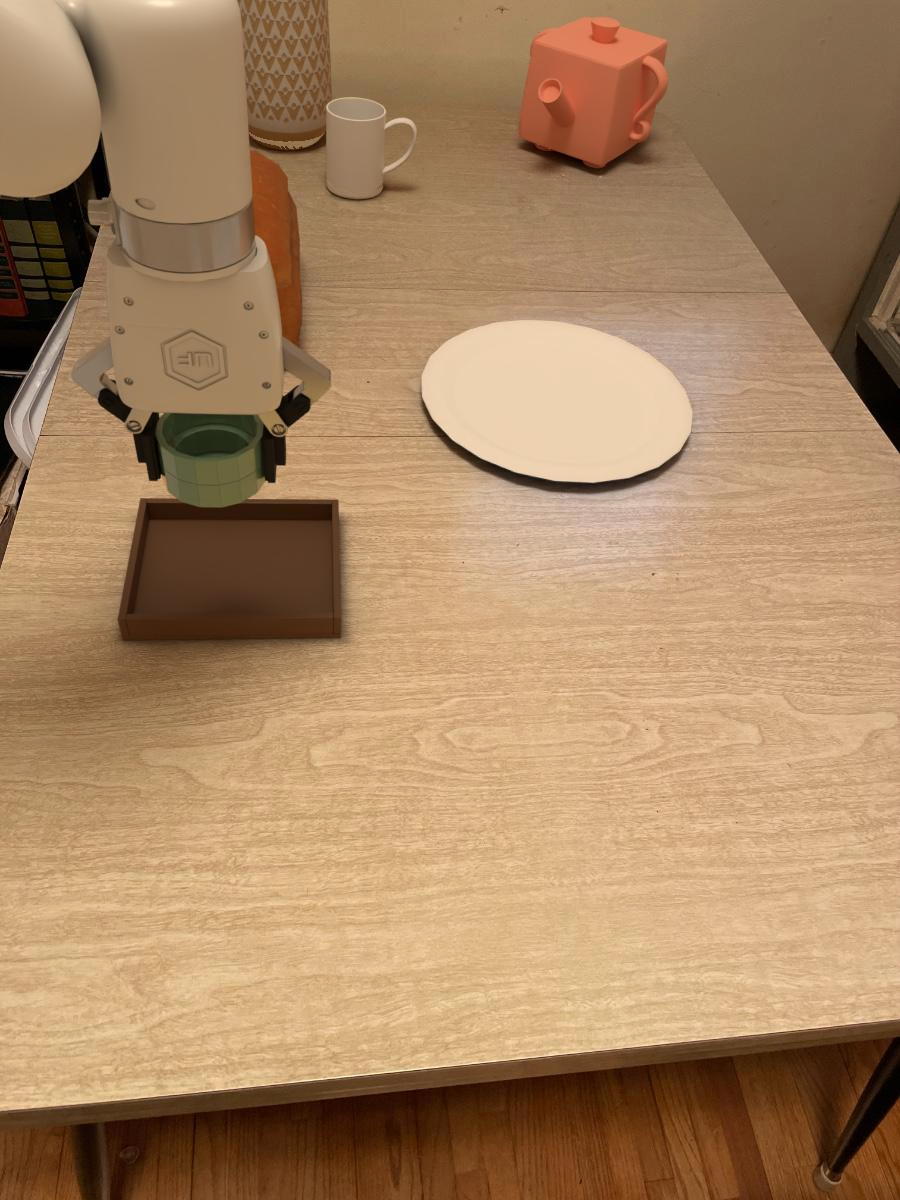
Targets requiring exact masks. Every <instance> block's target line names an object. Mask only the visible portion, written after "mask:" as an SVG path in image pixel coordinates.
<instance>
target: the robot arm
mask: <svg viewBox="0 0 900 1200" xmlns="http://www.w3.org/2000/svg"><path fill="white" fill-rule="evenodd" d="M100 137H102V143H103V148H104V155H105V160H106V165H107V172H108V178H109V185H110V189H111V191H110V193H109V195H108V197H102V198H101V199H88V201H87V217H88V221H89V224H90V225H91V226H102V227H104V229H111V232H112V234H113V235H115V238H114V239H113V241H112V243H111V245H110V246H109V248H108V250H107V253H106V268H105V269H106V270H105V278H106V279H105V282H106V283H105V286H106V290H105V291H106V302H107V303H106V305H107V318H108V319H107V320H108V329H109V330H108V331H109V336H108V337H106V338H105V339H104V340H102V341H101V342H100V343H98V344H97V345H96V346H94V347H93V348H91V350H89V351H88V352H86V353H85V354H84V355H83V356H81V357H80V358H79V359H77V360H76V361H75V362H74V364H73V368H72V370H71V374H70V377H71V380H72V381H73V382H74V383H75V384H77V385H78V386H79V387H80V388H82V389H83V391H85V392H86V393H87V394H88V395H90V396H91V397H94V398H95V399H97V403H98V404H99V406H100V407H102V408H103V409H104V410H105V411H107V412H108V413H109V414H111V415H113V416H114V417H115V418H117V419H118V420H120V421H121V422H122V423H124V428H125V430H126V431H127V432H128V433H129V434H132V436H133V442H134V449H135V453H136V459H137V463H139V464H145V465H146V472H147V478H148V481H149V482H158V480H161V479H162V474H161V468H160V462H159V457H158V451H157V445H156V439H155V429H156V425H157V421H158V419H159V418H160V417H161V416H160V414H161V413H162V414H164V413H187V414H230V415H256V414H257V415H258V416H259V418H260V419H261V421H262V422H263V423H264V424H263V436H262V444H263V459H264V474H265V482H267V483H268V484H276V480H277V466H279V467H281V466H282V467H283V466H284V467H285V466H287V441H286V440H287V438H286V435H287V434H288V431H289V428H290V427H291V426H293V425H294V424H295V423H296V422H298V421H299V420H300V419H302V418H303V417H304V416H305V415H307V414H308V413H309V412H310V411H311V407H312V406H313V405H314V404H315V403H317V402H318V401H319V400H320V399H321V398H322V397H323V396H324V395H325V394H326V393H327V392H328V391H329V390H330V389H331V387H332V371H331V370H330V369H329V368H328V367H327V366H325V365H324V364H322V363H321V362H320V361H318V360H317V359H315V358H314V357H313V356H311V355H310V354H308V353H307V352H306V351H304V349H302V348H300V347H298V346H296V345H294V344H293V343H292V342H290V341H289V340H287V339H286V338H285V337H283V335H282V325H281V317H280V309H279V302H278V295H277V290H276V284H275V279H274V274H273V270H272V266H271V262H270V258H269V254H268V251H267V248H266V245H265V243H264V241H263V240H262V239H261V238H260V237H258V236H256V235H255V225H254V209H253V194H252V180H251V163H250V150H251V149H250V135H249V130H248V114H247V97H246V80H245V64H244V47H243V31H242V22H241V13H240V8H239V5H238V2H237V0H0V196H6V197H11V198H12V197H13V198H36V197H42V196H46V195H50V194H54V193H56V192H59V191H61V190H63V189H65V188H67V187H68V186H70V185H71V184H72V183H74V182H75V181H76V180H77V179H79V178H80V177H81V175H82V174H83V173H84V172H85V171H86V169H87V168H88V167H89V166H90V164H91V163H92V160H93V158H94V156H95V153H96V152H97V149H98V146H99V143H100ZM112 368H113V372H114V379H112V378H109V375H107V374H106V372H108V371H109V370H111V369H112ZM285 371H287V372H288V373H290V374H291V375H293V376H294V377H296V378H297V379H298V380H300V381H301V383H300V384H298V385H296V386H294V387H293V388H292V389H291V390H289V391H288V392H287V393H286V394H284V383H285V381H284V378H285V374H284V373H285Z"/></svg>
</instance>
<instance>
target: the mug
mask: <svg viewBox="0 0 900 1200" xmlns="http://www.w3.org/2000/svg"><path fill="white" fill-rule="evenodd" d="M397 125H406V126H408V127H409V128H410V130H411V133H412V137H411V138H412V139H411V143H410V145H409V148H408V149H407V151H406V152H405V153H404V155H402V156H401V157H400V158H399V159H398V160H396V161H394V162H393V163H391V164H389V165H387V166H385V147H386V131H388V130H389V129H390V128H392V127H394V126H397ZM417 129H418V128H417V126H416V124H415V122H413V121H412V119H409V118H407V117H397V118H394V119H391V120H390V121H388V122H387V110H386V108H385V106H384V105H382V104H381V103H379V102H377V101H375V100H372V99H369V98H364V97H355V96H353V97H352V96H351V97H350V96H349V97H348V96H347V97H340V98H335V99H332V101H331V102H329V103H328V104H327V106H326V131H325V139H326V140H325V141H326V143H325V145H326V146H325V149H326V150H325V151H326V152H325V153H326V155H325V156H326V158H325V159H326V161H325V162H326V163H325V164H326V165H325V166H326V167H325V170H326V173H325V174H326V176H325V177H326V178H327V180H328V181H329V182H330V183H331V184H332V185H334V186H336V187H338V188H341V189H344V190H348V191H353V192H367V191H371V190H374V189H376V188H378V187H379V186H381V185H382V183H383V185H382V187H380V188H379V189H377V190H375V191H372V192H368V193H349V192H344V191H340V190H337V189H335V188H333V187H332V186H330V185H329V184H328V182H327V180H326V178H325V181H326V183H325V185H326V187H327V189H328V191H330V192H331V193H332V194H334V195H336V196H338V197H341V198H345V199H349V200H367V199H371V198H374V197H377V196H378V195H380V194H381V193H382V190H383V189H384V175H385V174H387V173H389V172H391V171H393V170H396V169H397V168H399V167H400V166H402V165H403V164H404V163H405V162H407V161H408V159H409V158H410V157H411V156H412V154H413V153H414V150H415V147H416V145H417V140H418V130H417Z"/></svg>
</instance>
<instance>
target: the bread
mask: <svg viewBox="0 0 900 1200" xmlns="http://www.w3.org/2000/svg"><path fill="white" fill-rule="evenodd" d="M250 163H251V180H252V194H253V209H254V225H255V235H256V236H258V237H260V238H261V239H262V240H263V241H264V243H265V245H266V248H267V251H268V254H269V258H270V262H271V266H272V270H273V274H274V279H275V284H276V290H277V295H278V302H279V309H280V317H281V325H282V335H283V337H285V338H286V339H287V340H289V341H290V342H292V343H293V344H294V345H296V346H297V347H298V346H299V338H300V331H301V328H302V325H303V295H302V283H301V282H302V281H301V241H300V239H301V238H300V229H299V220H298V218H299V217H298V210H297V205H296V203H295V201H294V199H293V197H292V195H291V193H290V191H289V178H288V176H287V174H286V172H285V171H284V170H283V169H282V167H281V165H279V164H278V163H276V162H275V161H274V160H272V159H270V158H268V157H267V156H265V155H264V154H262V153H260V152H259V151H258V150H257V151H256V150H252V149H250Z"/></svg>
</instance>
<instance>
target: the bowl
mask: <svg viewBox="0 0 900 1200" xmlns="http://www.w3.org/2000/svg"><path fill="white" fill-rule="evenodd" d="M159 417H160V418H159V419H158V421H157V425H156V429H155V439H156V445H157V451H158V457H159V462H160V468H161V480H162V481H163V484H164V486H165V488H166V491H167V492H168V493H169V494H170V495H172V496H173V497H174V498H177V499H179V500H180V501H182V502H184V503H187V504H191V505H194V506H198V507H219V508H221V507H226V506H230V505H234V504H238V503H241V502H243V501H245V500H246V499H251V497H253V496H255V495H256V494H257V493H258V492H259V491H260V489H261V488H262V487H263V486H264V484H265V483H266V481H265V474H264V459H263V444H262V436H263V424H264V423H263V422H262V421H261V419H260V418H259V416H258V415H257V414H256V415H230V414H187V413H162V415H160V416H159Z"/></svg>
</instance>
